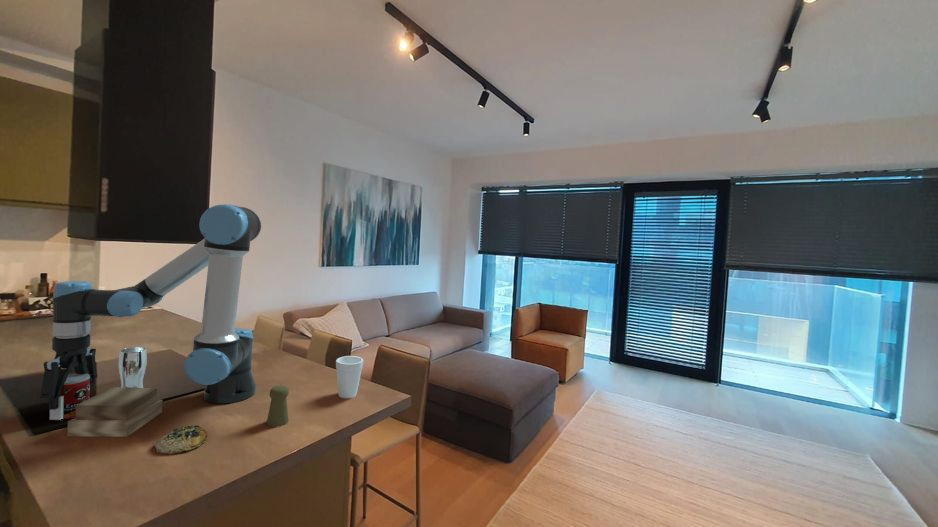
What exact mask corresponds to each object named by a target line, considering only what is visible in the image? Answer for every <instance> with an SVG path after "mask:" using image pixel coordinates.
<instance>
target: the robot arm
mask: <svg viewBox="0 0 938 527" xmlns="http://www.w3.org/2000/svg"><path fill="white" fill-rule="evenodd" d="M198 227H199V230H200V233H201V235H203V237H204V238H203V239H202V240H201V241H199V242H197V243H196V244H194V245H193V246H192V247H190V248H188V249H186V251H184V252H183V253H181V254H179V255H178V256H176V258H174V259H172V260H170V261H169V262H168V263H166V264H164V265H163V266H162V267H160V268H158V269H157V270H156V271H154V272H153V273H151V274H150V275H149V276H147V277H146V278H144V279H142V280H141V281H139V282H138V283H137V284H135V285H133V286H127V287H123V288H117V289H95V288H93V285H92V283H91V282H89V281H86V280H85V281H83V280H65V281H59V282H57V283H55V284H54V286H53V295H52V297H51V298H52V299H51V300H52V310H53V311H52V313H53V318H52V336H54V337H52V339H51V340H52V341H51V345H52V346H51V348H52V350H53V352H55V356H54V359H52V360H50V361H45V362H43V369H44V372H43V379H42V384H41V392H40V396H39V397H40V398H41V399H48V410H49V420H50V421H52V420H53V421H54V420H55V421H62V420H61V419H63V407H64V396H61V393H62V390H63V388H64V382H66V379H67V377H68V374H70V373H71V372H72V370H74V371H75V373H76V374H89V376H90V385H91V384H92V385H93V384H95V382H96V379H97V378H98V371H97V363H96V362H97V361H96V351H97V349H96V348H90V346H91V335H90V333H91V331H92V326H91V325H92V320H91V318H92V316H94V317H95V316H97V317H117V318H123V317H125V318H126V317H129V318H130V317H135V316H136V315H138V314H139V312H141V311H142V309H145V308H150V307H153V306H155V305H157V304H158V303H160V302H161V301H162V300H163V298H164V297H165V296H166V295H167V294H169V293H170V292H172V291H173V290H175V289H176V288H178V287H179V286H181V285H182V284H184V283H185V282H186V281H188V280H189V279H191V278H193V277H194V276H195V275H197V274H198V273H200V272H201V271H203V270H204V269H206V268H207V275H206V282H205V293H204V300H203V301H204V302H203V309H202V310H203V311H202V318H201V319H202V320H201V329H200V332H198V333H197V334H195V336H194V337H193V345H192V351H191V352H190V353H189V354H188V355H187V357H186V359H185V360H184V364H183V369H184V372H185V375H186V376H187V377H188V378H189V379H190V380H191V381H192V382H194V383H196V384H198V385H199V384H200V385H204V386H206V387H205V389H204V391H203V400H205V401H206V402H208V403H212V404H230V403H231V404H232V403H235V402H241V401H245V400H247V399H249V398H251V397H253V396H254V395H255V394H256V390H257V388H256V387H257V386H256V381H255V379H254V376H253V375H254V374H253V372H252V360H253V359H252V358H253V357H252V356H253V342H254V341H253V340H254V336H253V335H254V334H253V331H252V330H251V329H249V328H241V327H236V319H237V311H238V310H237V309H238V302H239V293H240V292H239V291H240V283H241V274H242V266H243V259H244V258H243V257H244V256H245V255H247V254H248V253H250V249H251V248H250V247H251V242H252V241H254V240H255V239H256V238H257V237H258V236H259V235H260V233H261V229H262V221H261V220H260V216H258V214H257V213H255V211H253V210H252V209H250V208H248V207H244V206H237V205H234V204H224V203H223V204H218V205H217V204H216V205H213V206H210V207H209V208H207V209H206V210H205V211H203V214H201V217H200V219H199V226H198ZM55 392H56V393H55ZM90 393H91V388H90V389H89V394H90Z"/></svg>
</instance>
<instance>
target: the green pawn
mask: <svg viewBox="0 0 938 527" xmlns="http://www.w3.org/2000/svg"><path fill="white" fill-rule="evenodd" d="M289 392H290V391H289V387H288V386H287V385H284V384H283V385H282V384H280V385H279V384H278V385H274V387H272V388H271V389H270V390H269V398H271V400H270V405H269V408H268V409H269V410H268V414H267V420H266V426H268V427H270V426H272V427H271V428H278V427H277V426H279V427H283V426H285V425H286V424H288V423H289V420H290V419H289V412H288V401H287V400H288V399H287V398H288V395H289ZM282 425H283V426H282Z"/></svg>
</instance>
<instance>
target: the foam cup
mask: <svg viewBox="0 0 938 527" xmlns="http://www.w3.org/2000/svg"><path fill="white" fill-rule="evenodd" d="M363 367H364V359H363V357H360V356H355V355H345V356H341V357H338V358H336V360H335V369H336V380H337V392H338V397H339V398H341V399H352V398H355V397H356V396H357V393H358V389H359V384H360V379H361V374H362V369H363Z"/></svg>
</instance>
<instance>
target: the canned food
mask: <svg viewBox="0 0 938 527" xmlns="http://www.w3.org/2000/svg"><path fill="white" fill-rule="evenodd" d="M89 389H90V390H91V384H90V376H89V374H76V372H75V373H69V374H68V377H67V379H66V382H64V388H63V390H62V393H61V396H64V407H63V419H69V418H75V417H76V405H77V404H79V403H81V402H83V401H85V400H87V399H89V398H90V393H89ZM55 393H56V392H55ZM69 420H70V419H69Z"/></svg>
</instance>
